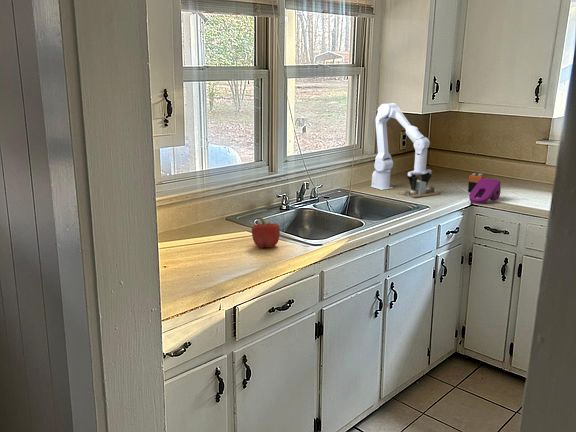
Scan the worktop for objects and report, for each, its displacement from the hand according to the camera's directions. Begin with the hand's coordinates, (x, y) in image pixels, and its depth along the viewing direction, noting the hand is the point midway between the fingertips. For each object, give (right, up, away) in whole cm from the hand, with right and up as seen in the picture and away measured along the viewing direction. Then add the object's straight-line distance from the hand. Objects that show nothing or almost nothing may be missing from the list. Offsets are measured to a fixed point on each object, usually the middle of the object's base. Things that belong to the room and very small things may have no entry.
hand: (418, 188), depth 295 cm
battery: (+31, -2, +6) cm, 32 cm away
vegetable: (-74, -25, -83) cm, 114 cm away
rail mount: (+1, -3, +1) cm, 3 cm away
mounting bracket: (+29, -6, -10) cm, 31 cm away
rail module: (0, -2, +1) cm, 2 cm away
